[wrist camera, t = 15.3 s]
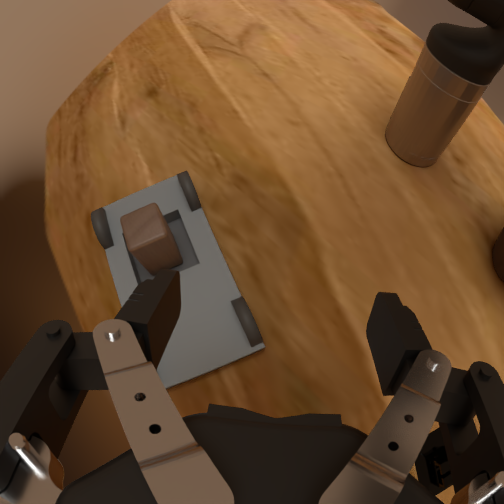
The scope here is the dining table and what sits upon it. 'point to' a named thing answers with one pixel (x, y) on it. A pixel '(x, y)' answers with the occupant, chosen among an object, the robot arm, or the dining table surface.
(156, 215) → the wooden block
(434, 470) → the black block
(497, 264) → the plant pot
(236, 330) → the chassis
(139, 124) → the dining table surface
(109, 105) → the dining table surface
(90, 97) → the dining table surface
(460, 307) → the dining table surface
